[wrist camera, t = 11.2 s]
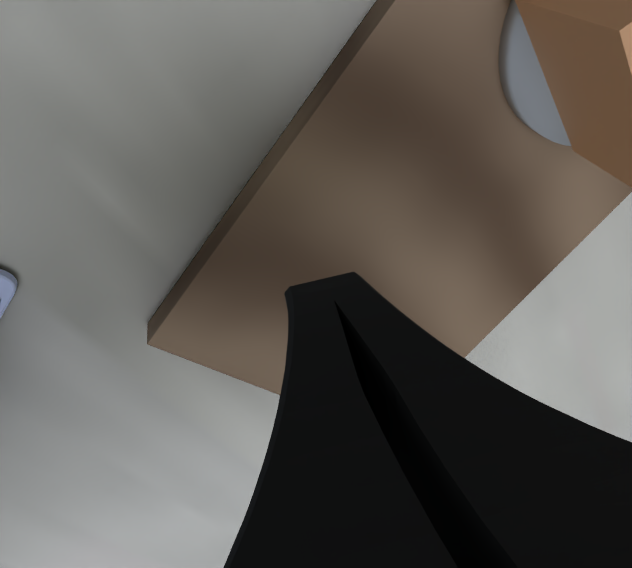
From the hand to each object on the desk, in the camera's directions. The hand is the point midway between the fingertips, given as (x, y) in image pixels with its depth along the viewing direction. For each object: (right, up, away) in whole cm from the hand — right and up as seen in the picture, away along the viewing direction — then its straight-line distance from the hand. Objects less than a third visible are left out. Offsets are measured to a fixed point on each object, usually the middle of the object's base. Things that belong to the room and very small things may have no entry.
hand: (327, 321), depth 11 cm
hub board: (+4, +4, +10) cm, 12 cm away
